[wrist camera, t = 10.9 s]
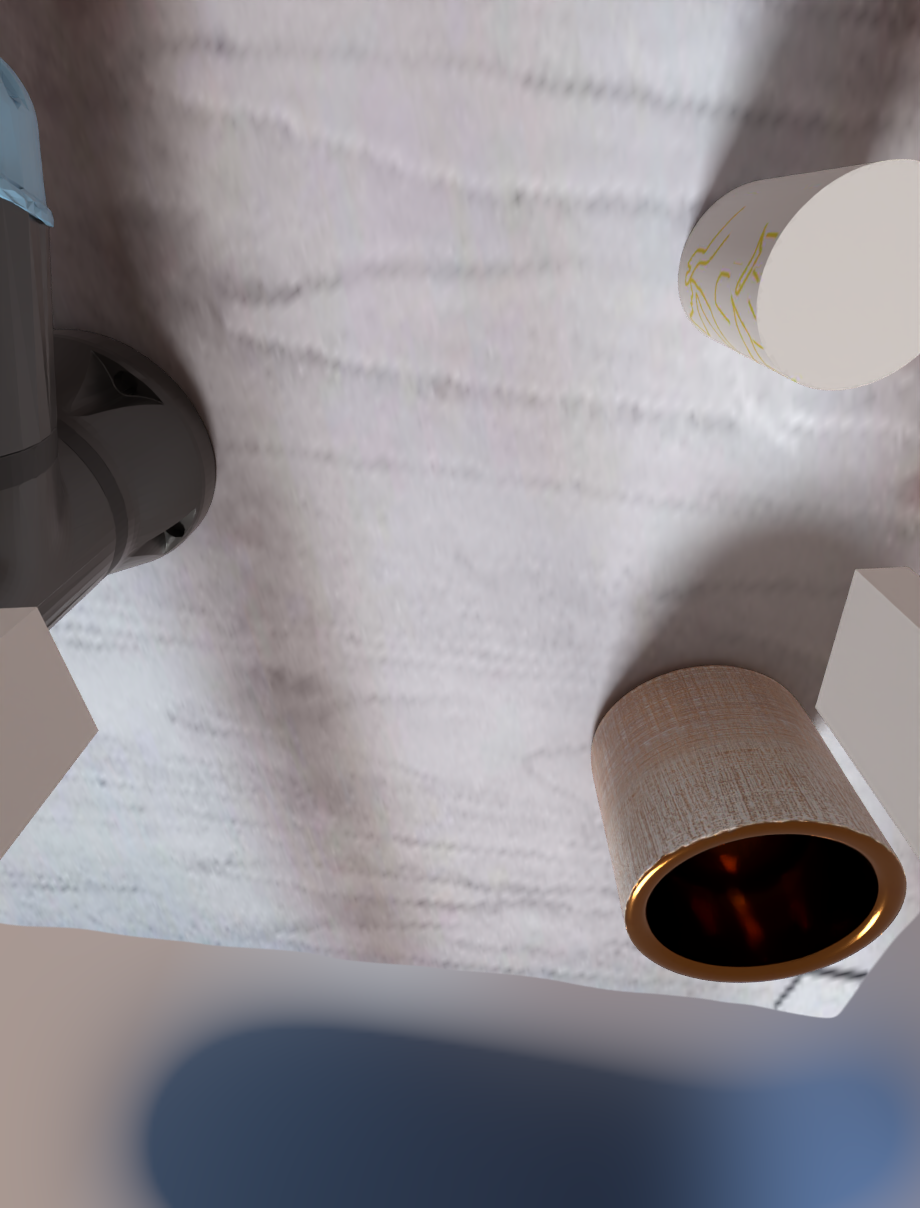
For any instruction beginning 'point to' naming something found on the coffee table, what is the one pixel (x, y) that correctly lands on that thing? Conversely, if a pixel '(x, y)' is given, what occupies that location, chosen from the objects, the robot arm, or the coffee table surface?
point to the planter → (737, 831)
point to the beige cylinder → (812, 273)
